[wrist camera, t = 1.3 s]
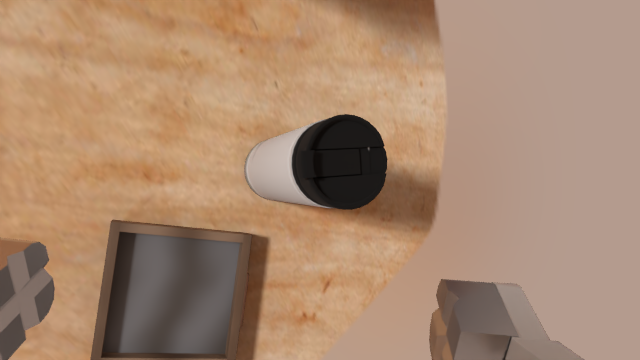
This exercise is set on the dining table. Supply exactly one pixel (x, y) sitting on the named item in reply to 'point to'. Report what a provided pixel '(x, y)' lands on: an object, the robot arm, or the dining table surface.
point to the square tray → (171, 293)
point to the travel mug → (320, 164)
